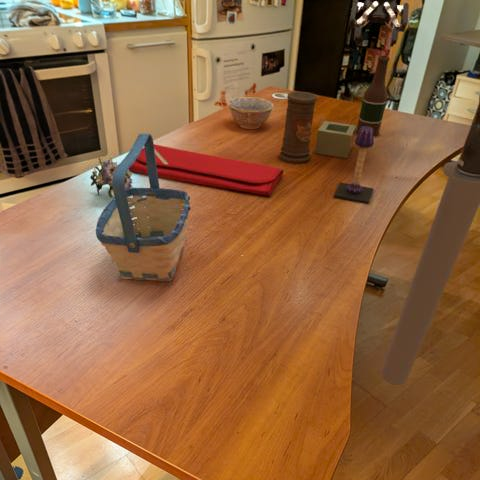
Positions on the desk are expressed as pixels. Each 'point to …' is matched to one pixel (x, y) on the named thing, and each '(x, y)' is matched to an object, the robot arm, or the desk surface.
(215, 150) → the desk surface
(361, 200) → the mat
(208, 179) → the dish drying mat
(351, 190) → the toy lamp
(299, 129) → the container
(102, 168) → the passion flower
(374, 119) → the beer bottle
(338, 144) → the holder
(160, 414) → the desk surface
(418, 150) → the desk surface
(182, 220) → the basket
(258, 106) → the bowl
